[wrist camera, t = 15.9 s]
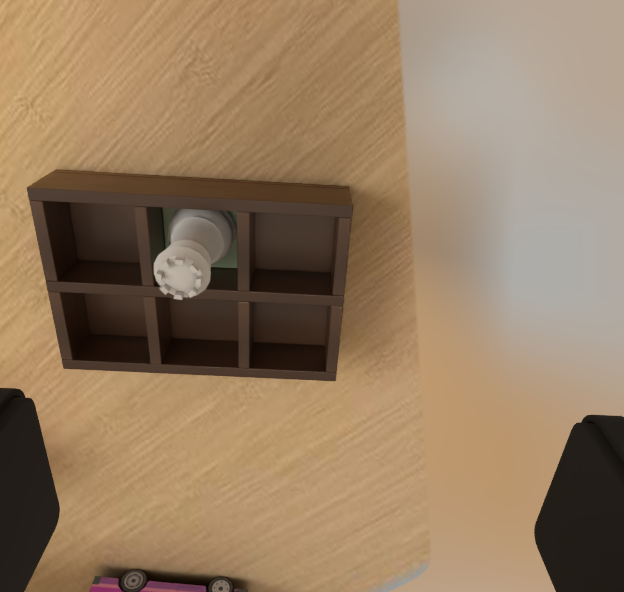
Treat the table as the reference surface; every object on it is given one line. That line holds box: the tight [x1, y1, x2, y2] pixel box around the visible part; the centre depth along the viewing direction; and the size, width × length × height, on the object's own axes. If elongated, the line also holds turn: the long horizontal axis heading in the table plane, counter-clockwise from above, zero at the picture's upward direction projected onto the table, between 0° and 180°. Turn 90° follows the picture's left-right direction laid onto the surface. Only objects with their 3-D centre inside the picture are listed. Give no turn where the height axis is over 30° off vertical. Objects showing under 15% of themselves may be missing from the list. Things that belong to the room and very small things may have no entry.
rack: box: [27, 170, 353, 381], centre depth 37 cm, size 13×20×4 cm
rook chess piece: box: [154, 208, 235, 300], centre depth 33 cm, size 4×4×8 cm
